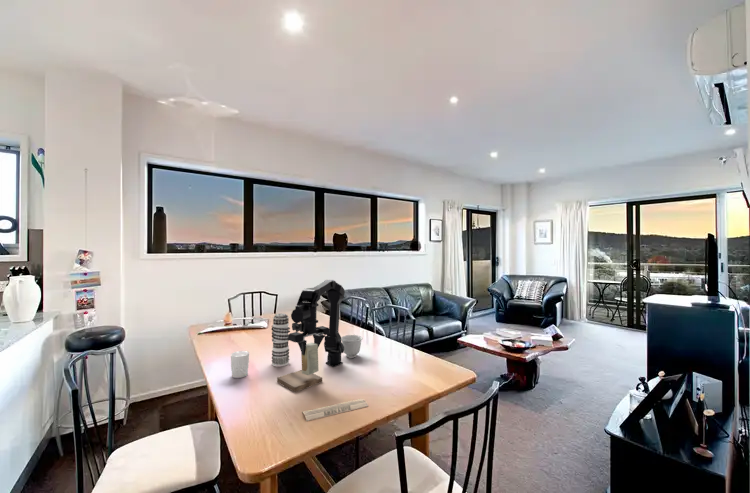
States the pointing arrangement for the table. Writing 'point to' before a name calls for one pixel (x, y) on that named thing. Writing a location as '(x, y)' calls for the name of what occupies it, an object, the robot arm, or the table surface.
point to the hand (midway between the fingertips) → (309, 353)
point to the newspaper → (335, 409)
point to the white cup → (239, 364)
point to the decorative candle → (280, 340)
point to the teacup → (351, 345)
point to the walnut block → (299, 380)
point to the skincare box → (310, 359)
